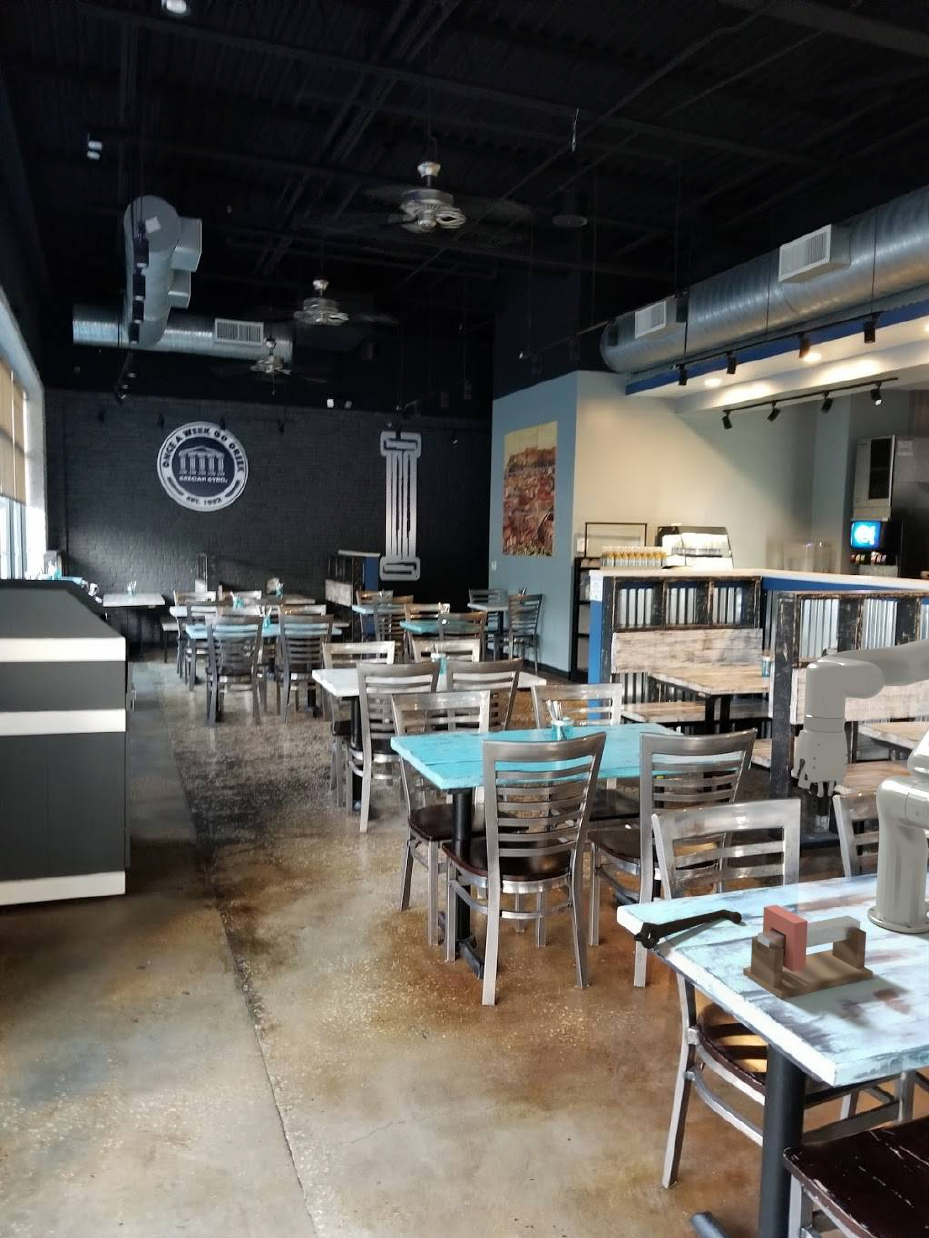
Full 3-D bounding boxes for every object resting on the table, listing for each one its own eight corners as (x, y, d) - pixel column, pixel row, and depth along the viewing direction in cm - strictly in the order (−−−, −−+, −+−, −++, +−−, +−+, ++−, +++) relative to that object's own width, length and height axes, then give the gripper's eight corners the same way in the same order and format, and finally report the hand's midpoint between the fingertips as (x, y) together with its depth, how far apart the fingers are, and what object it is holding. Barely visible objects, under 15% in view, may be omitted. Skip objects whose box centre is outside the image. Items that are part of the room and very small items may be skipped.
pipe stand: (832, 955, 180) (833, 915, 179) (872, 977, 170) (874, 936, 170) (743, 974, 171) (744, 933, 170) (780, 999, 162) (782, 955, 161)
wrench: (743, 931, 195) (649, 958, 177) (723, 924, 199) (630, 950, 181) (744, 907, 195) (650, 931, 177) (724, 900, 199) (631, 924, 181)
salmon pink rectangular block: (774, 950, 172) (776, 904, 171) (805, 968, 165) (807, 921, 164) (761, 953, 171) (763, 906, 170) (792, 971, 164) (794, 923, 163)
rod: (846, 930, 176) (847, 913, 176) (860, 938, 173) (861, 920, 173) (756, 949, 167) (757, 931, 167) (769, 957, 164) (770, 938, 164)
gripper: (837, 718, 187) (833, 805, 188) (780, 723, 181) (777, 813, 182) (866, 725, 180) (862, 815, 181) (808, 730, 174) (804, 823, 176)
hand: (819, 814), depth 182 cm, fingers closed
